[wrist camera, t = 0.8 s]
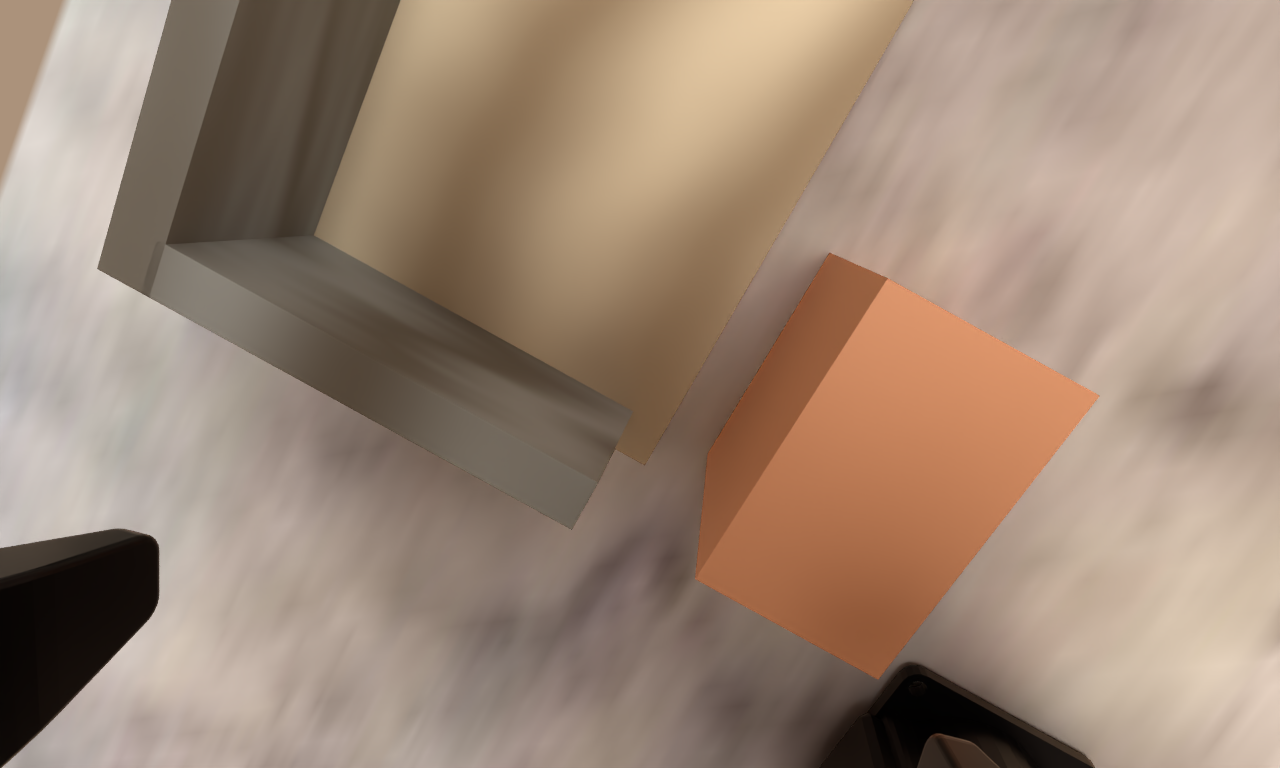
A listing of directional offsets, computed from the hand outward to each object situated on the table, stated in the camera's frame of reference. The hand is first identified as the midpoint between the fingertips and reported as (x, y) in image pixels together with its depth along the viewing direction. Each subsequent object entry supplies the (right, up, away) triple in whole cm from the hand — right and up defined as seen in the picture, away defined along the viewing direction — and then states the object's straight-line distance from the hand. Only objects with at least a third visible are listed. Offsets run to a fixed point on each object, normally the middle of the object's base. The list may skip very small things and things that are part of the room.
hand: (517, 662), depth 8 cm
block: (+7, +3, +11) cm, 13 cm away
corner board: (-1, +10, +10) cm, 15 cm away
